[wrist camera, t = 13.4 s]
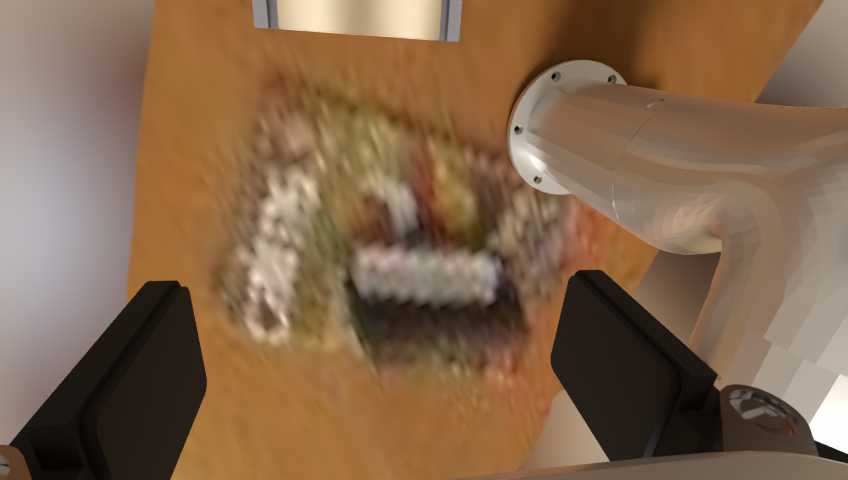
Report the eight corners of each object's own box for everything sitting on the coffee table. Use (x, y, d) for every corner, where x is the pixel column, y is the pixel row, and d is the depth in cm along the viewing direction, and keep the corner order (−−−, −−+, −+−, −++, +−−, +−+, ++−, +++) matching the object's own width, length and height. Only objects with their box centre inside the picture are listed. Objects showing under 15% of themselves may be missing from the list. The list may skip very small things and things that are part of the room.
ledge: (435, -15, 34) (443, -20, 31) (431, 40, 36) (439, 39, 33) (280, -30, 32) (274, -37, 29) (284, 29, 34) (278, 28, 31)
